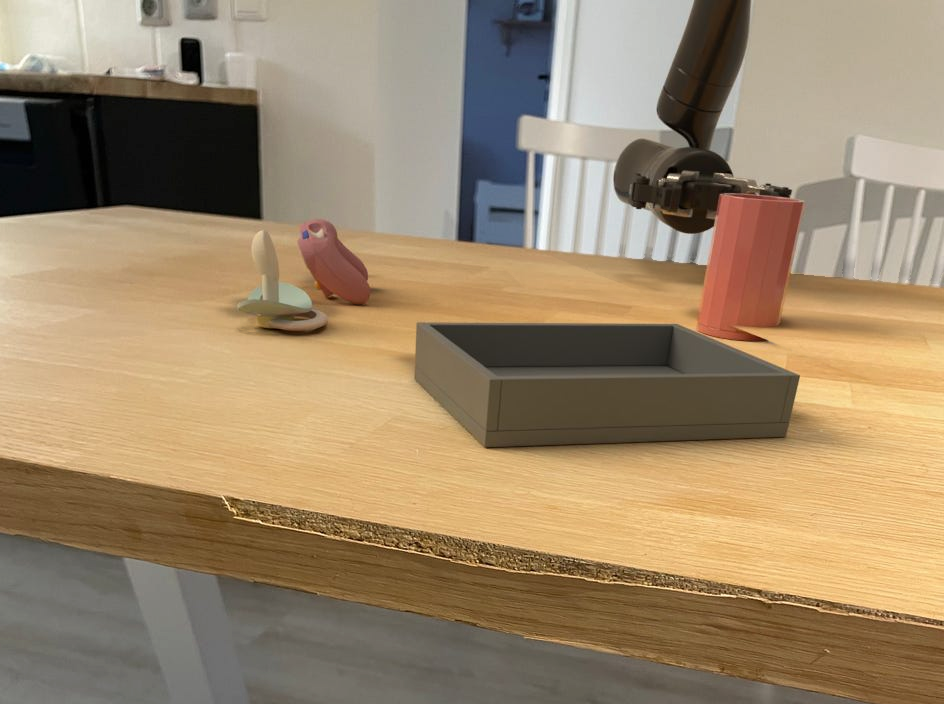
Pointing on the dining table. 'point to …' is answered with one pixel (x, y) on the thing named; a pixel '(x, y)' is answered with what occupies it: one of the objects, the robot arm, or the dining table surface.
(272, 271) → the pacifier
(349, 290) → the pink owl figurine
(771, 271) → the tumbler
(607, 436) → the shallow grey tray
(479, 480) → the dining table surface
